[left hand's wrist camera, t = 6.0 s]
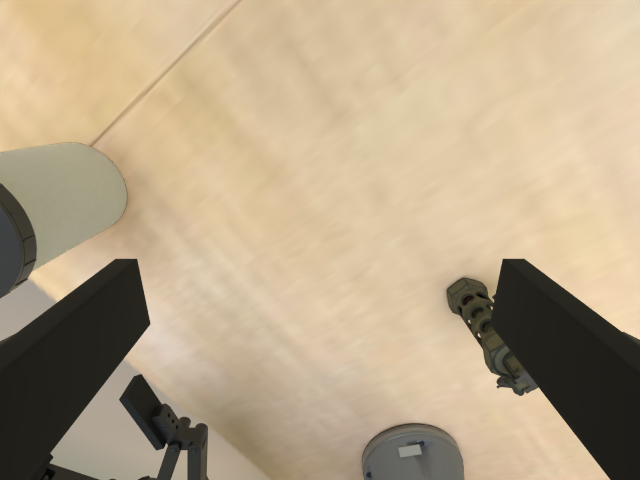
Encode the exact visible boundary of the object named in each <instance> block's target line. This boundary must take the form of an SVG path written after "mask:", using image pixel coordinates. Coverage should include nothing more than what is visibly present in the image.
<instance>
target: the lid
mask: <svg viewBox="0 0 640 480" xmlns="http://www.w3.org/2000/svg"><path fill="white" fill-rule="evenodd" d="M35 236H36V235H35V233H34V229H33V227H32V224H31V222H30V220H29V218H28V216H27V214H26V212H25V210H24V209H23V207H22V206H21V204H20V203H19V202H18V201H17V199H16V198H15V197H14V196H13V195H12V194H11V193H10V192H9V190H8V189H7V188H6V187H5V186H3V184H1V183H0V298H1V297H3V296H5V295H6V294H8V293H10V291H12V290H14V289H15V288H17V287H18V286H20V285H21V284H22V283H23V282H24V281H26V280H28V279H27V278H28V277H29V275H30V273H31V272H32V270H33V267H34V265H35V261H37V259H36V257H37V243H36V237H35Z"/></svg>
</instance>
